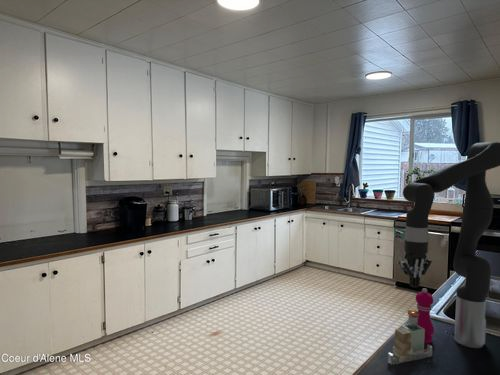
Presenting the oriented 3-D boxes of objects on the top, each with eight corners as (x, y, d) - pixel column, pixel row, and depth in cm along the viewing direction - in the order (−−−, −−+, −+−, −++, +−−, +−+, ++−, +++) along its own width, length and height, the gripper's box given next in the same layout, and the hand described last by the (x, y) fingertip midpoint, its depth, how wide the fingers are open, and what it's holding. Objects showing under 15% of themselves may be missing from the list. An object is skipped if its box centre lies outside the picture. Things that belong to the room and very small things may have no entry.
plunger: (412, 324, 126) (413, 309, 125) (421, 329, 122) (421, 313, 122) (404, 326, 125) (405, 310, 124) (412, 331, 121) (413, 315, 121)
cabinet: (413, 343, 127) (413, 323, 127) (423, 350, 122) (424, 329, 122) (399, 346, 125) (400, 325, 125) (410, 353, 120) (411, 331, 120)
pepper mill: (409, 339, 130) (411, 288, 129) (416, 332, 136) (418, 283, 134) (429, 346, 125) (431, 293, 124) (436, 339, 130) (438, 288, 129)
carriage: (404, 353, 118) (405, 327, 117) (412, 359, 115) (413, 332, 114) (392, 356, 116) (393, 329, 116) (400, 362, 113) (401, 334, 112)
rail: (428, 353, 120) (428, 344, 120) (431, 356, 119) (432, 346, 119) (387, 363, 115) (388, 353, 114) (391, 365, 113) (391, 355, 113)
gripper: (422, 235, 127) (420, 281, 128) (393, 238, 123) (391, 285, 124) (439, 240, 120) (437, 288, 121) (409, 242, 116) (407, 292, 117)
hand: (414, 286), depth 122 cm, fingers closed
